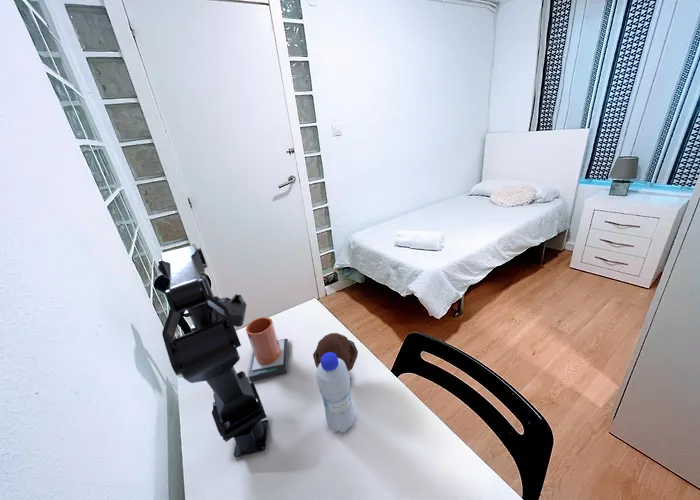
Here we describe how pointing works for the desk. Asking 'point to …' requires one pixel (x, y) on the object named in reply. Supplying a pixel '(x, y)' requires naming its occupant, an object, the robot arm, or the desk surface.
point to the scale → (271, 369)
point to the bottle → (335, 392)
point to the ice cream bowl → (336, 349)
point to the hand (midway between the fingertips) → (221, 353)
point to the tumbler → (263, 340)
